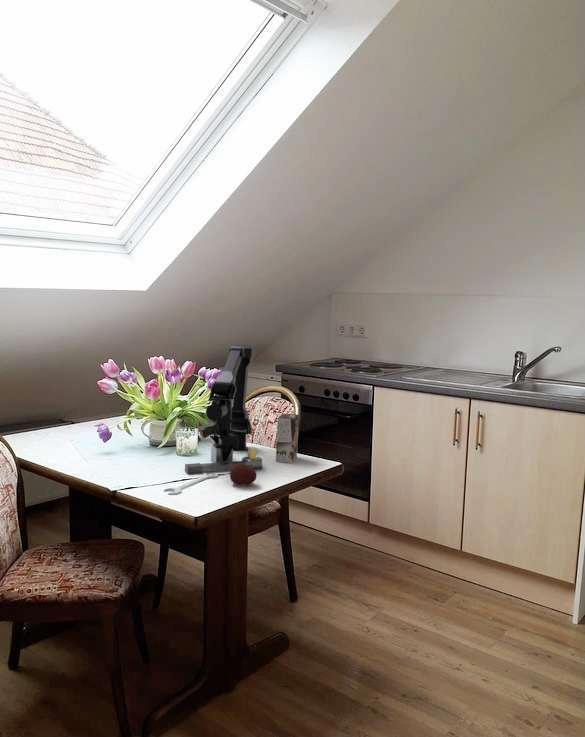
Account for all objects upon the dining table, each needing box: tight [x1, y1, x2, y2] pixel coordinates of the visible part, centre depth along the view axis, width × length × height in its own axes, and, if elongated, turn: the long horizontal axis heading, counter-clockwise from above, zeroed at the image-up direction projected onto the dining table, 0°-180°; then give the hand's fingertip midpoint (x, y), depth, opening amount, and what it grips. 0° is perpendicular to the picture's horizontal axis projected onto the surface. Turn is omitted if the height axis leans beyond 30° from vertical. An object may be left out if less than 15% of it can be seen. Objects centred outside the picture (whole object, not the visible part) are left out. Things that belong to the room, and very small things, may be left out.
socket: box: [210, 443, 234, 463], centre depth 230 cm, size 6×6×6 cm
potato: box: [229, 463, 257, 486], centre depth 206 cm, size 7×8×7 cm
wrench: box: [163, 472, 219, 496], centre depth 205 cm, size 25×2×5 cm
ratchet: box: [184, 446, 263, 475], centre depth 221 cm, size 7×26×7 cm, turn 113°
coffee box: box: [275, 413, 300, 464], centre depth 237 cm, size 9×6×16 cm
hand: (221, 458), depth 230 cm, fingers closed on socket, 6 cm apart
